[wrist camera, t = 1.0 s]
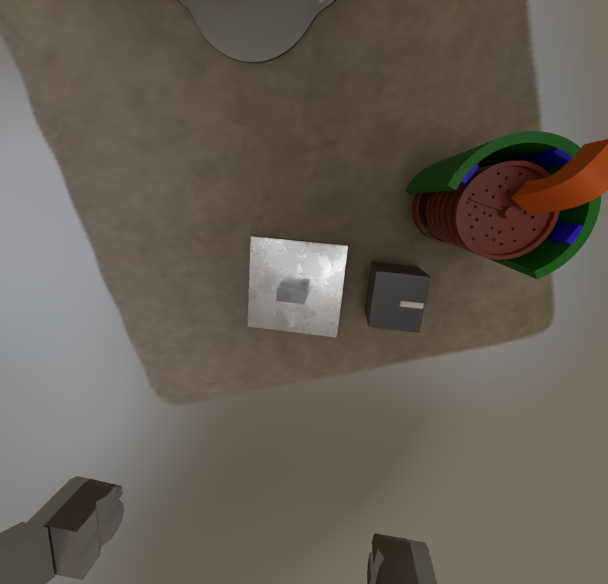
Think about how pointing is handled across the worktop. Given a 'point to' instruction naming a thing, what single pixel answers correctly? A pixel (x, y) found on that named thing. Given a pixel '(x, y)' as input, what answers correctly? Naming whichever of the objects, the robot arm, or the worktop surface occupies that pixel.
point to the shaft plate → (300, 270)
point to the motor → (515, 199)
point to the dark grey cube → (396, 297)
